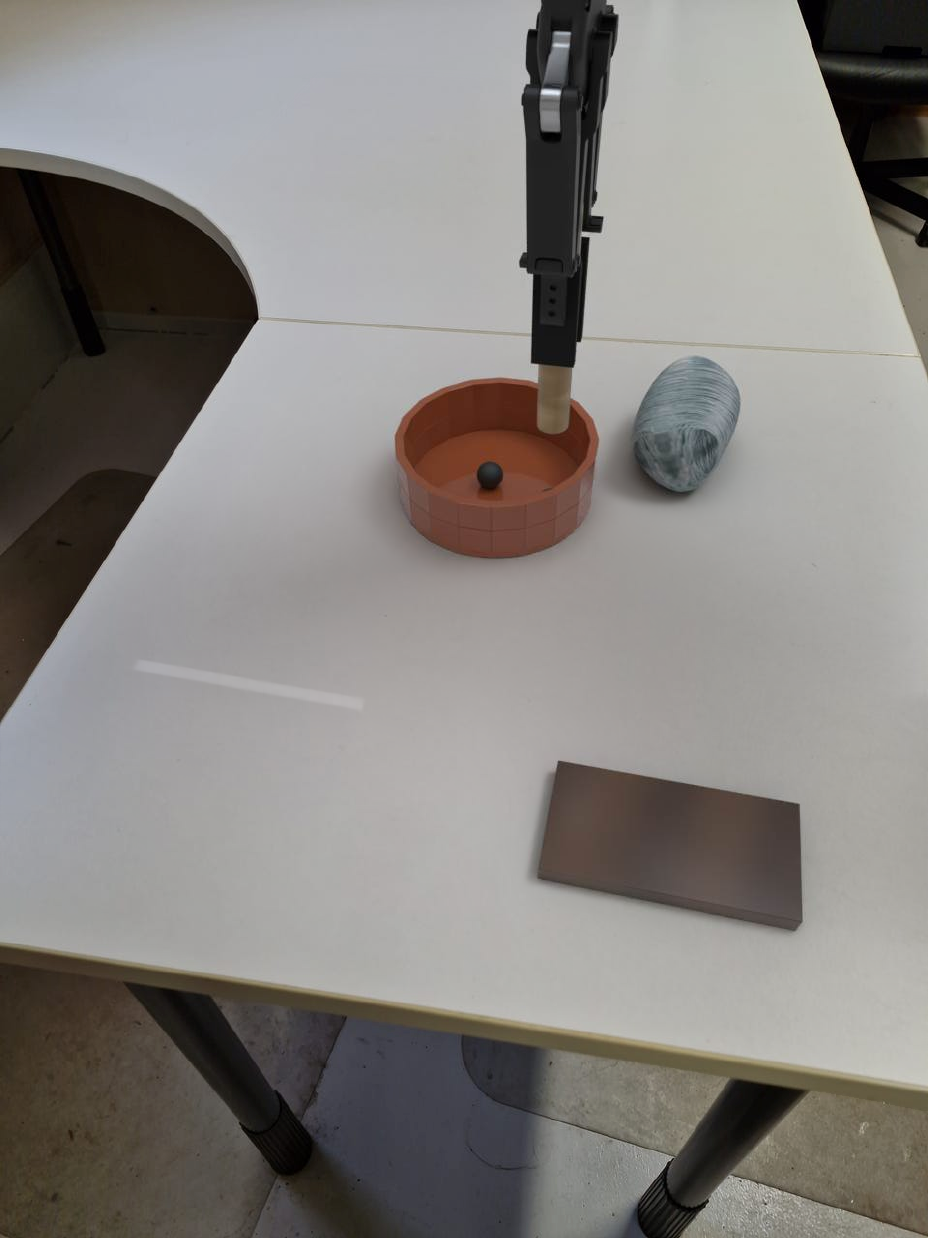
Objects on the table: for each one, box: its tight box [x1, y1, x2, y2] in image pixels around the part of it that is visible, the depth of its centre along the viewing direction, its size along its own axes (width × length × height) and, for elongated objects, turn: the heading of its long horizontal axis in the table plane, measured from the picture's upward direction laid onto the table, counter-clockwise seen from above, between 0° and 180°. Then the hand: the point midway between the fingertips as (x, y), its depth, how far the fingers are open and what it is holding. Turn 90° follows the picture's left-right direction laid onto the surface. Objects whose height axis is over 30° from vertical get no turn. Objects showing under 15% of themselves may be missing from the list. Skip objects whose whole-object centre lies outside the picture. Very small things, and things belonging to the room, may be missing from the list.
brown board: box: [537, 760, 804, 931], centre depth 56 cm, size 16×8×2 cm, turn 77°
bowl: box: [394, 376, 600, 559], centre depth 77 cm, size 18×18×6 cm
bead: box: [477, 462, 503, 488], centre depth 78 cm, size 2×2×2 cm
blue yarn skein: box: [631, 355, 741, 493], centre depth 78 cm, size 14×10×10 cm
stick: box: [537, 204, 584, 434], centre depth 53 cm, size 2×2×15 cm
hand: (557, 348), depth 54 cm, fingers closed on stick, 2 cm apart
